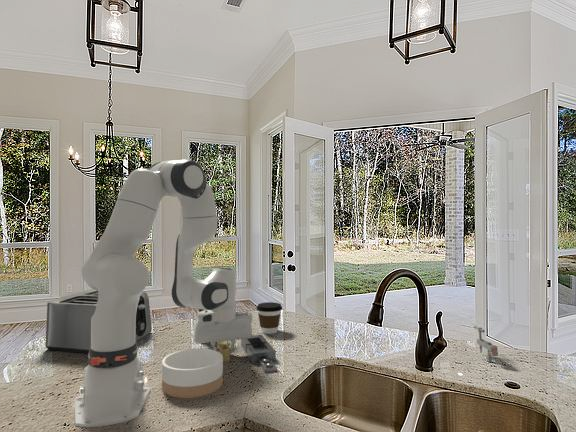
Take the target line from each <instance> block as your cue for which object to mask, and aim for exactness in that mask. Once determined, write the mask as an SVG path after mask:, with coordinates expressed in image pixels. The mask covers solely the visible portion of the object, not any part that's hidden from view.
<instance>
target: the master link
mask: <svg viewBox="0 0 576 432" xmlns="http://www.w3.org/2000/svg"><path fill="white" fill-rule="evenodd" d="M229 346H230V345H229V344H228V341H219V342H217V343H216V348H218V349H219V352H220V353H221V354H222V356H223V362H230V360H231V357H230V356H231V353H230V348H229Z"/></svg>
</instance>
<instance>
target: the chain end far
mask: <svg viewBox="0 0 576 432" xmlns="http://www.w3.org/2000/svg"><path fill="white" fill-rule="evenodd" d="M264 343H269V342H268V340H267V339H266V338H265V337H264V336H263V335H262V334H255V335H253V334H252V336H251V338H249V339H240V346H241V348H242V349H243V351H244V353H245V354H247V345H252V346H253V348H254V349H255V350H263V349H264Z"/></svg>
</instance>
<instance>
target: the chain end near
mask: <svg viewBox="0 0 576 432" xmlns="http://www.w3.org/2000/svg"><path fill="white" fill-rule="evenodd" d="M276 354H277V352H276V350H275V349H274V348H273V346H272V345H271V344H270V343H269V342H268V343H264V349H263V350H255V349H254V348H253V346H252V345H247V353H246V356H247V358H248V359H249V361H250V362H251V364H252V365H255V364H257V365H259V367H260V368H261V369H262V371H263V372H264V374H266V373H274V372H277V371H278V367H277V365H276V364H275V363H274V362H276V361H277V360H276V358H277V356H276Z"/></svg>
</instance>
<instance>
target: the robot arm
mask: <svg viewBox="0 0 576 432" xmlns="http://www.w3.org/2000/svg"><path fill="white" fill-rule="evenodd" d="M205 174H206V173H205V172H204V169H203V167H202V166H201V164H199V162H197V161H194V160H190V159H186V158H185V159H170V160H169V159H168V160H164V161H160V162H155V163H154V164H152V165H151V166H149V167H148V168H137V169H134V170H132V171H131V172H130V174H129V175H128V176H127V178H126V180H125V182H124V183H123V185H122V187H121V189H120V192H119V194H118V196H117V199H116V202H115V205H114V207H113V209H112V213H111V216H110V218H109V220H108V223H107V226H106V228H105V230H104V232H103V233H102V235H101V236H100V238H99V240H98V242H97V243H96V245H95V247H94V249H93V250H92V252H91V254H90V255H89V256H88V257H87V258H86V259H85V260H84V262H83V264H82V266H81V276H82V279H83V280H84V282H85V283H86V284H87V285H88V286H89V288H90V289H95V290H98V301H97V306H96V310H95V313H94V314H93V316H92V318H91V347H90V348H89V353H87V354H88V355H87V357H88V365H86V366H85V368H83V387H81V388H80V390H79V391H80V395H78V396H76V397H74V400H73V406H74V407H73V409H74V425H75V427H81V428H96V427H104V426H110V425H111V426H112V425H116V424H121V423H125V422H128V421H131V420H133V419H136V418H138V417H139V415H140V414H141V411H142V410H143V408H144V406H145V403H146V401H147V399H148V397H149V394H150V393H151V387H148V386H144V385H145V384H144V372H145V371H144V363H143V361H141V360H140V359H139V358H138V349H139V348H138V347H139V346H138V342H137V340H136V341H135V334H136V312H137V306H138V302H139V299H140V295H141V292H142V291H144V290H145V289H146V287H147V285H148V283H149V279H150V273H149V270H148V268H147V266H146V265H145V264H144V263H143V262H142V261H141V260H140V259H138V258H136V257H135V256H136V254H137V252H138V250H139V249H140V248H141V246H142V245H143V244H144V243H145V242H146V241H147V240H148V239H149V236H150V233H151V230H152V228H153V225H154V222H155V218H156V215H157V212H158V210H159V206H160V202H161V200H162V199H163V197H164V196H169V197H173V198H174V197H177V199H178V201H179V202H180V205H181V229H180V233H179V234H178V235H177V239H176V243H175V255H174V256H175V257H174V258H175V260H174V261H175V262H174V275H173V276H174V277H173V278H174V279H173V282H172V287H171V297H172V301H173V303H174V304H175V305H176V306H177V307H180V308H191V309H192V308H193V309H197V310H199V309H203V310H204V311H201V312H199V311H198V312H197V315H196V316H197V317H196V318H197V320H196V321H195V323H194V328H193V334H192V335H193V342H194V343H195V344H210V345H211V346H212V348H213V350H215V351H218V352H219V349H218V348H217V343H216V342H219V341H227V342H228V341H229V342H230V344H229V345H228V346H229V348H230V354H232V353H233V348H234V346H235V344H236V341H237V340H241V339H249V338H251V336H253V329H252V328H253V327H252V323H253V314H252V313H250V312H249V311H243V312H242V311H238V312H237V303H236V302H237V301H236V293H237V280H236V274H235V271H234V270H233V269H232V268H230V267H229V268H228V267H226V268H225V267H218V266H217V267H215V266H214V267H213V268H212V270H211V273H210V274H209V275H208V276H206V277H205V278H204V279H200V278H195V277H194V275H193V269H194V268H193V267H194V255H195V254H194V253H195V252H196V250H197V249H198V247H200V246H202V245H205V244H206V243H208V242H209V241H211V239H213V238H214V237H215V235H216V234H217V229H218V214H217V205H216V200H215V197H214V192H213V188H212V186H210V185H209V184H208V183H207V179H206V175H205ZM209 342H211V343H209Z"/></svg>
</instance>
